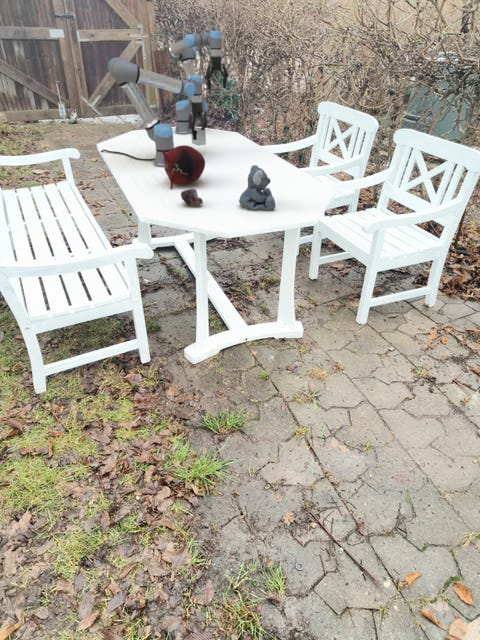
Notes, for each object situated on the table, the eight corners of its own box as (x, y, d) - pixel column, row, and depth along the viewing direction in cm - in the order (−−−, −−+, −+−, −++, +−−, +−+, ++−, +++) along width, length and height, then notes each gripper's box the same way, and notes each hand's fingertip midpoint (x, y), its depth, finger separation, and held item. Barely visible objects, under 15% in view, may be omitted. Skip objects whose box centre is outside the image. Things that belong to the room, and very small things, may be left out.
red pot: (163, 151, 265) (157, 149, 242) (201, 142, 264) (199, 140, 241) (172, 187, 272) (167, 189, 248) (209, 179, 271) (208, 180, 248)
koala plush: (276, 211, 223) (277, 171, 212) (240, 212, 222) (240, 172, 211) (271, 199, 237) (272, 161, 226) (237, 200, 236) (237, 162, 225)
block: (198, 145, 306) (197, 131, 301) (191, 143, 312) (191, 128, 307) (206, 144, 309) (205, 129, 304) (199, 142, 315) (198, 127, 310)
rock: (196, 202, 238) (178, 205, 233) (194, 185, 234) (176, 188, 230) (205, 205, 228) (187, 208, 224) (203, 188, 224) (185, 191, 220)
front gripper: (187, 104, 288) (189, 141, 302) (211, 101, 298) (213, 138, 311) (181, 102, 293) (183, 139, 307) (205, 99, 303) (207, 136, 316)
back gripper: (204, 57, 315) (205, 91, 327) (233, 55, 327) (233, 87, 339) (198, 56, 320) (200, 89, 332) (227, 54, 332) (227, 86, 344)
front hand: (198, 138), depth 309 cm, fingers closed on block, 6 cm apart
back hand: (217, 89), depth 336 cm, fingers open, 13 cm apart
